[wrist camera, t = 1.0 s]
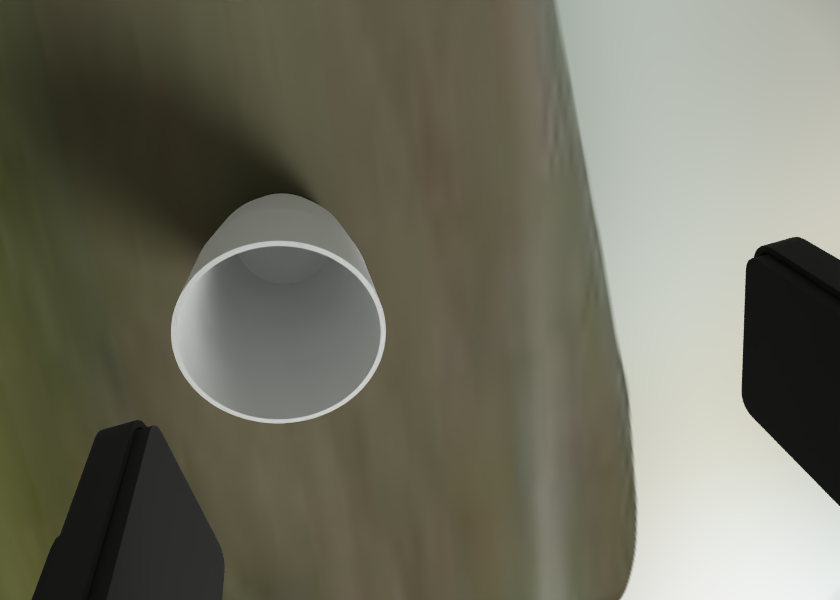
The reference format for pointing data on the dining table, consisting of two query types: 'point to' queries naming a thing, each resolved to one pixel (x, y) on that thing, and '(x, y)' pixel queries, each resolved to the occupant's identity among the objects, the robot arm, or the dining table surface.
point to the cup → (279, 314)
